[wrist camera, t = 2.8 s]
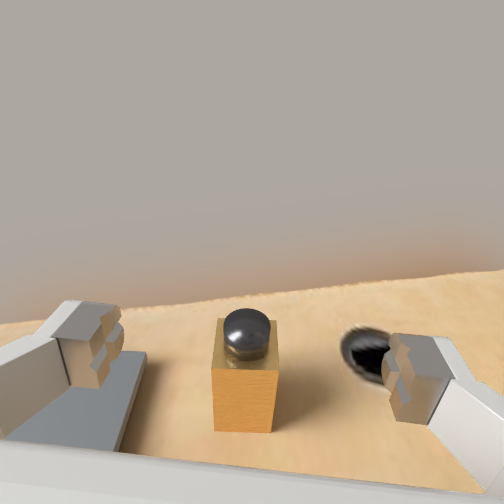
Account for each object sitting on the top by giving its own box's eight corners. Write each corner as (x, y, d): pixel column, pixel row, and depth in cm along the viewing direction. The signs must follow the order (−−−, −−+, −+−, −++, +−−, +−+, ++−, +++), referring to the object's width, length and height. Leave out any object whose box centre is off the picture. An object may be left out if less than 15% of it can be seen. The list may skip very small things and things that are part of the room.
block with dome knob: (269, 382, 34) (278, 303, 28) (270, 432, 30) (281, 353, 24) (219, 381, 34) (217, 301, 28) (214, 431, 30) (210, 350, 24)
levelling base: (148, 365, 35) (145, 349, 34) (84, 572, 22) (74, 561, 21) (13, 360, 35) (3, 344, 34) (-132, 566, 22) (-157, 555, 21)
